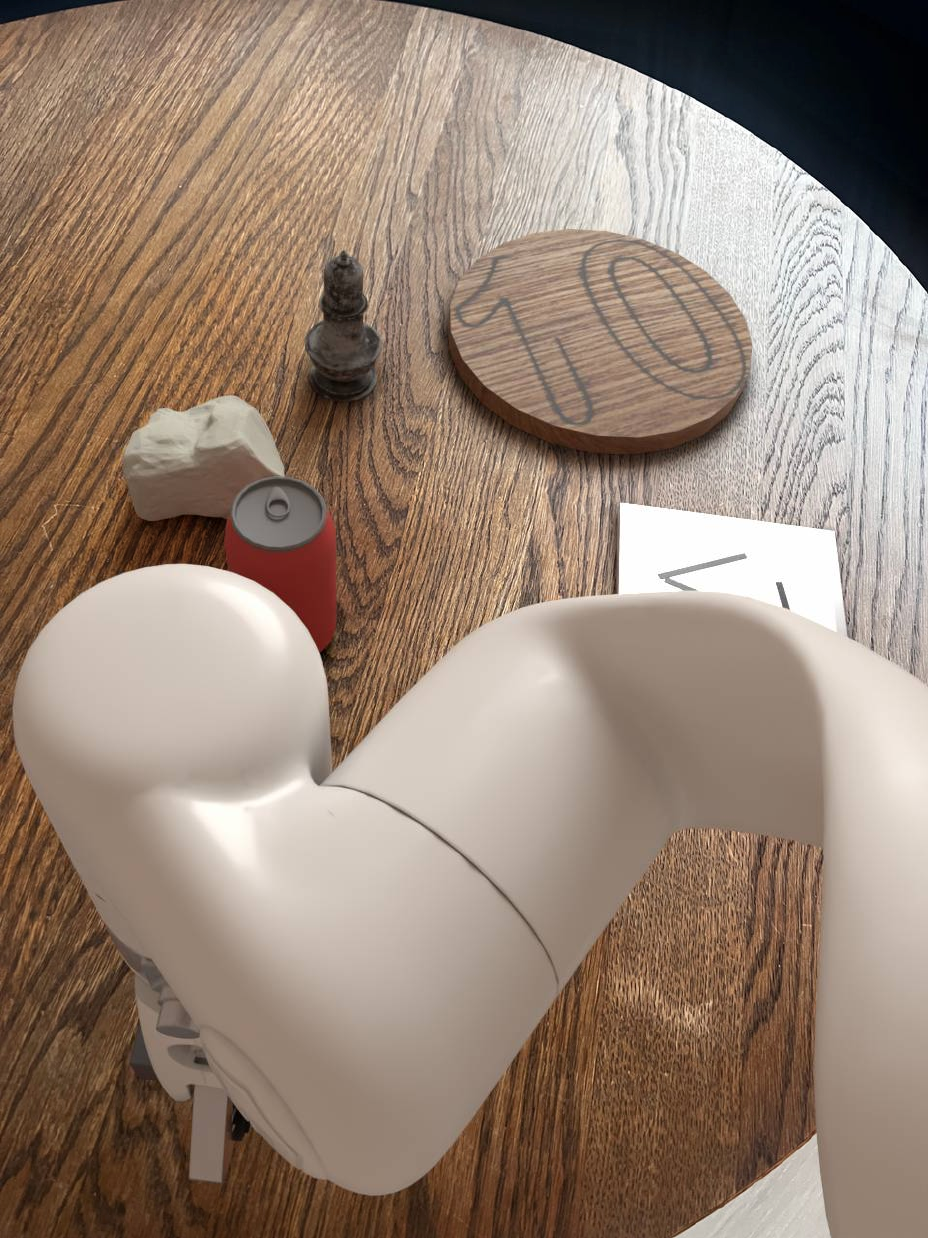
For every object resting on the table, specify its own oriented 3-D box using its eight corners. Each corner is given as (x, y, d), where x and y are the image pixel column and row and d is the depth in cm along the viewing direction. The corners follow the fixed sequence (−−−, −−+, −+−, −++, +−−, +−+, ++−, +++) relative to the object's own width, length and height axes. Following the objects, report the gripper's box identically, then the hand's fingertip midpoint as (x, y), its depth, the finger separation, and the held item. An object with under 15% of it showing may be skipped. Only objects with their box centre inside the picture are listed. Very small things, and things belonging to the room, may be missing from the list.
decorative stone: (263, 397, 85) (283, 372, 75) (277, 518, 85) (299, 510, 76) (112, 406, 81) (113, 382, 72) (128, 533, 82) (131, 526, 72)
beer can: (331, 583, 77) (329, 464, 68) (342, 664, 74) (342, 551, 64) (233, 591, 76) (217, 472, 66) (239, 674, 73) (224, 560, 63)
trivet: (529, 489, 84) (532, 472, 82) (400, 279, 96) (401, 261, 95) (804, 409, 91) (812, 392, 90) (652, 224, 104) (657, 206, 102)
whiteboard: (858, 780, 72) (865, 772, 71) (612, 748, 72) (615, 740, 71) (830, 539, 84) (835, 529, 83) (617, 511, 84) (620, 501, 83)
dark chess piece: (290, 380, 88) (283, 252, 78) (337, 341, 91) (336, 213, 81) (349, 415, 87) (351, 289, 77) (395, 374, 90) (402, 248, 80)
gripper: (286, 1177, 31) (311, 1255, 46) (372, 665, 41) (370, 865, 56) (16, 1145, 31) (128, 1234, 46) (168, 640, 41) (220, 847, 56)
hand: (260, 1030), depth 51 cm, fingers closed on eraser, 5 cm apart
